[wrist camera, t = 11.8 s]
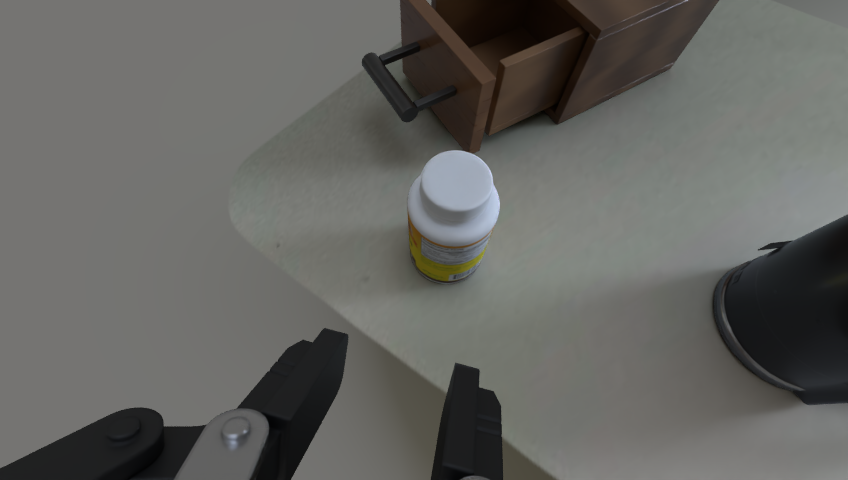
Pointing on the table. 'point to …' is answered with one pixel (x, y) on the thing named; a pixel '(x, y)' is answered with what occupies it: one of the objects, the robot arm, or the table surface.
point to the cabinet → (625, 46)
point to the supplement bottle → (451, 216)
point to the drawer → (480, 62)
